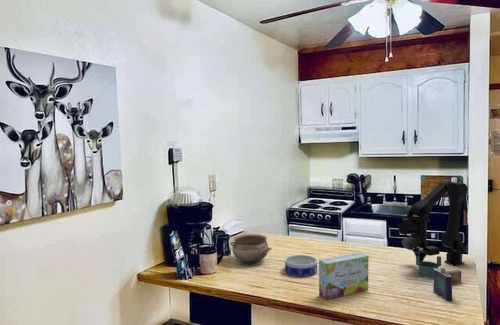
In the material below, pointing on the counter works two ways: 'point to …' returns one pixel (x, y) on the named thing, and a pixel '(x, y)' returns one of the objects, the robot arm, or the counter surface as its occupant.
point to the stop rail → (455, 276)
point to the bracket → (427, 267)
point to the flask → (442, 283)
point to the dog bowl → (301, 265)
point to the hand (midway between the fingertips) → (419, 264)
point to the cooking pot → (250, 247)
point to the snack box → (343, 275)
